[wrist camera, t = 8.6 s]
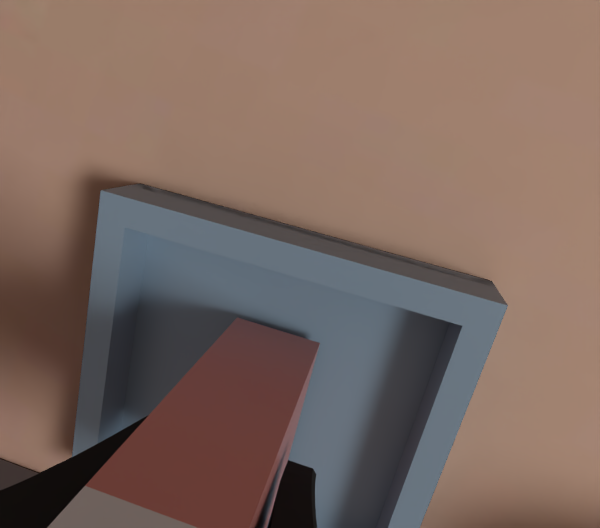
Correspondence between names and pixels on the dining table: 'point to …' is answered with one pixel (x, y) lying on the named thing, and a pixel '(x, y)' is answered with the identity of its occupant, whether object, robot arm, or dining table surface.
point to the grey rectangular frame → (13, 474)
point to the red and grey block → (208, 441)
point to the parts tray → (297, 321)
